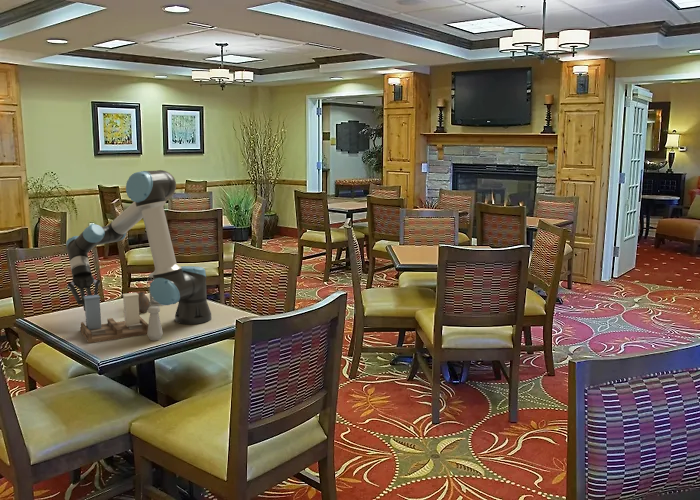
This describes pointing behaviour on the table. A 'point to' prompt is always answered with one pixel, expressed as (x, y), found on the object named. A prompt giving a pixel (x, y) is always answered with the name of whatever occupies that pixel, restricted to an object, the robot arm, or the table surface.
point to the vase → (143, 302)
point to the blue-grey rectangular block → (92, 311)
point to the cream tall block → (131, 308)
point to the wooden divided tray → (113, 330)
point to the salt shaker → (154, 324)
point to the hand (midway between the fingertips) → (90, 316)
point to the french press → (152, 301)
